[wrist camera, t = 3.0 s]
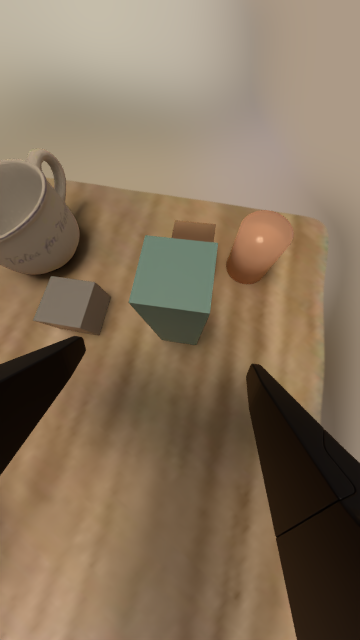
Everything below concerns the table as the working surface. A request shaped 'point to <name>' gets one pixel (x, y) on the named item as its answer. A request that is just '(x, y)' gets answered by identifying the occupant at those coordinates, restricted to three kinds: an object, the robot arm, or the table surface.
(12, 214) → the teacup
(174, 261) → the teal block
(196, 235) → the walnut cube
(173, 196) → the table surface
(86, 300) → the gray block
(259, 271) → the peach rounded cylinder
